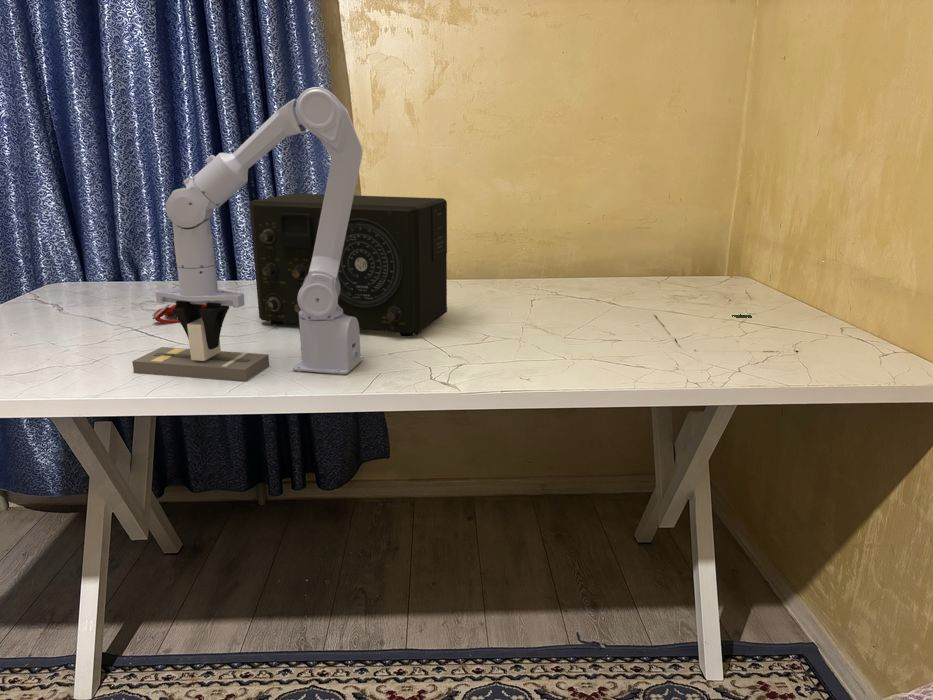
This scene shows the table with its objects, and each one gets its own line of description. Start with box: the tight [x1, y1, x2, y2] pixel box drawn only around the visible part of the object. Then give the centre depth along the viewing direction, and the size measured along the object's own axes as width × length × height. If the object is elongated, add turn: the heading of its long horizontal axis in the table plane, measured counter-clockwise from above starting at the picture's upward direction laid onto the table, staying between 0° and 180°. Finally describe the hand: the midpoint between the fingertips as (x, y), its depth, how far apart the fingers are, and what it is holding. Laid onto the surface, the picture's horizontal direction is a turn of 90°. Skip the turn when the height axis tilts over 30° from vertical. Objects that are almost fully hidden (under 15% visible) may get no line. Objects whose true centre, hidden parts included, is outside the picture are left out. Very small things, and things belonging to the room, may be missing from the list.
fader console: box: [131, 346, 270, 382], centre depth 118 cm, size 20×8×2 cm, turn 78°
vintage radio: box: [248, 192, 448, 338], centre depth 143 cm, size 38×20×25 cm, turn 73°
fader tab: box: [187, 318, 222, 361], centre depth 116 cm, size 2×5×6 cm, turn 168°
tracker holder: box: [151, 303, 207, 324], centre depth 149 cm, size 12×4×10 cm
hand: (205, 347), depth 117 cm, fingers closed on fader tab, 2 cm apart
